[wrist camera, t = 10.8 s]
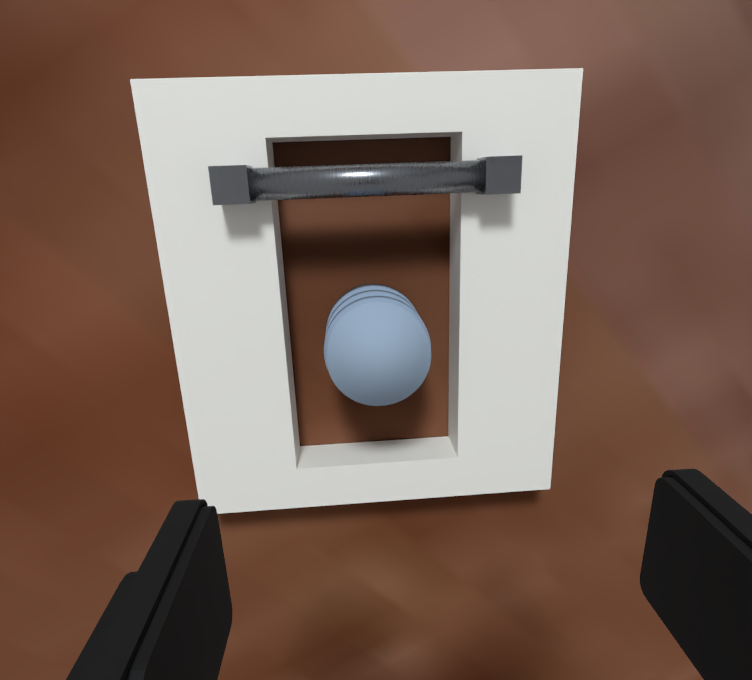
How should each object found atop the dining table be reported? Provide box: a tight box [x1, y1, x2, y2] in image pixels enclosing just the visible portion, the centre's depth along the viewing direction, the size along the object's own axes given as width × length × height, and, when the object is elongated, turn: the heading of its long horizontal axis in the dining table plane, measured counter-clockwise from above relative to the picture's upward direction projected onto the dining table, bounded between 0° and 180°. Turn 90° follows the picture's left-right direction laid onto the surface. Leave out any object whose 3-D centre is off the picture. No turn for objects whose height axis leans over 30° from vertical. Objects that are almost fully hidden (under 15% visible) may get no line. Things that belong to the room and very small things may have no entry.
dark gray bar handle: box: [208, 155, 522, 205], centre depth 23 cm, size 14×2×2 cm, turn 92°
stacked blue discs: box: [324, 284, 431, 406], centre depth 25 cm, size 5×5×6 cm
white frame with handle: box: [130, 68, 583, 514], centre depth 26 cm, size 20×22×2 cm
